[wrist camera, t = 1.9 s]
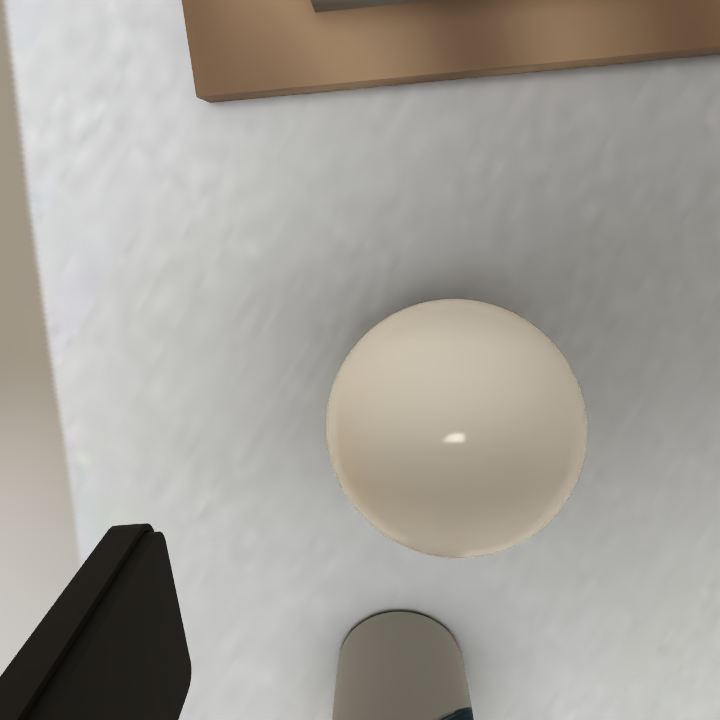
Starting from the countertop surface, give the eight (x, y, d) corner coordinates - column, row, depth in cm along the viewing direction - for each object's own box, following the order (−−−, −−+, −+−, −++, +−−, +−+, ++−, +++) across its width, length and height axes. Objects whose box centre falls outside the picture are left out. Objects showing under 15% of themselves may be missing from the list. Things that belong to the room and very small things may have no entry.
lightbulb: (310, 336, 22) (247, 478, 12) (437, 220, 21) (494, 265, 10) (420, 448, 24) (452, 667, 13) (546, 346, 22) (697, 501, 12)
